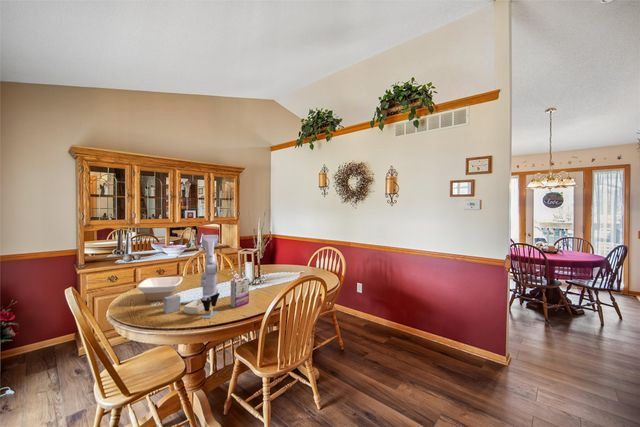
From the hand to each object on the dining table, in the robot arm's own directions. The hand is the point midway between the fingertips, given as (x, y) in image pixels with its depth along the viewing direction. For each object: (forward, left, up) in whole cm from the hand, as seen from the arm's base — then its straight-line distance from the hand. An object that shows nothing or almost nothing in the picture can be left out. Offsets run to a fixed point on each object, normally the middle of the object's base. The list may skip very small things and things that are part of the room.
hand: (210, 308), depth 157 cm
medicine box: (+2, -24, -4) cm, 24 cm away
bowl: (-16, -48, -4) cm, 51 cm away
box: (-4, -12, -4) cm, 13 cm away
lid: (0, 0, -4) cm, 4 cm away
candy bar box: (-19, +8, -4) cm, 21 cm away
